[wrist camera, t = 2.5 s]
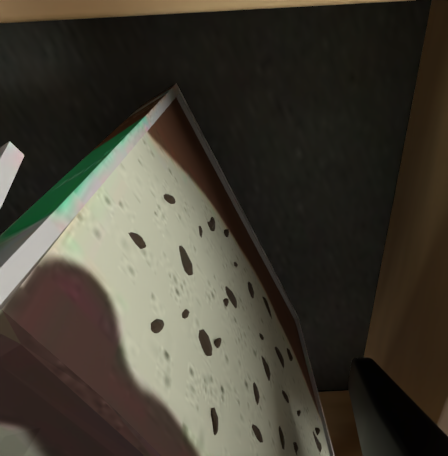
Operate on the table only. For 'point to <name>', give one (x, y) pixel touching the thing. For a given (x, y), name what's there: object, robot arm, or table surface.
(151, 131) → the food container
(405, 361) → the desk box
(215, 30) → the table surface
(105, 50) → the table surface
